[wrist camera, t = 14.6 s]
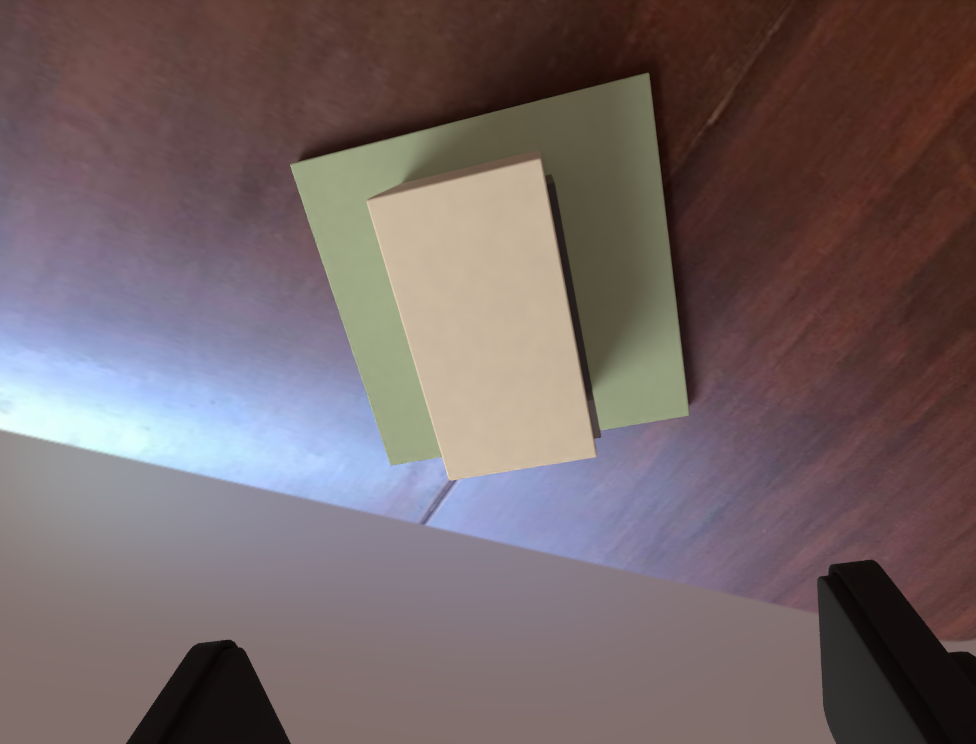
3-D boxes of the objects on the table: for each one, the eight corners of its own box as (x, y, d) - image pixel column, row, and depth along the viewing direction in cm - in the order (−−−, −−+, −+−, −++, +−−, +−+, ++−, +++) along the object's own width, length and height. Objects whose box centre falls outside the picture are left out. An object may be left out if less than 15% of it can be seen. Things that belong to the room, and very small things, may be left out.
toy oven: (546, 148, 26) (550, 154, 20) (592, 395, 30) (605, 456, 25) (399, 183, 27) (364, 199, 21) (463, 418, 31) (448, 481, 26)
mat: (686, 409, 31) (690, 415, 30) (393, 458, 33) (390, 466, 33) (646, 73, 25) (649, 72, 24) (295, 162, 28) (288, 163, 27)
